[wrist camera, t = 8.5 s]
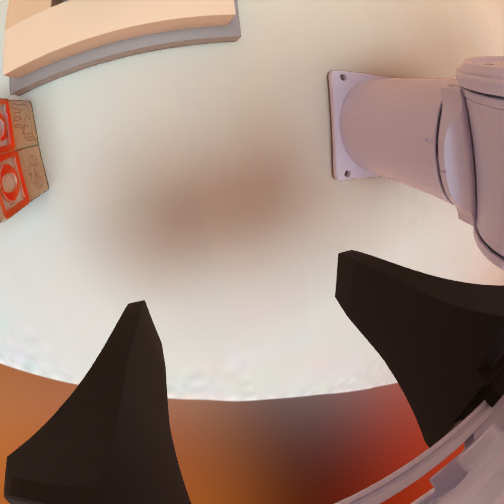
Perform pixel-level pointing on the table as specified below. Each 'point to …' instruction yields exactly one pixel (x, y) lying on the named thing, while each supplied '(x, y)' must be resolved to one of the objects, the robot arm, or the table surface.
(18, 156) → the stack of blocks
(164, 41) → the puzzle board
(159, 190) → the table surface
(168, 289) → the table surface
